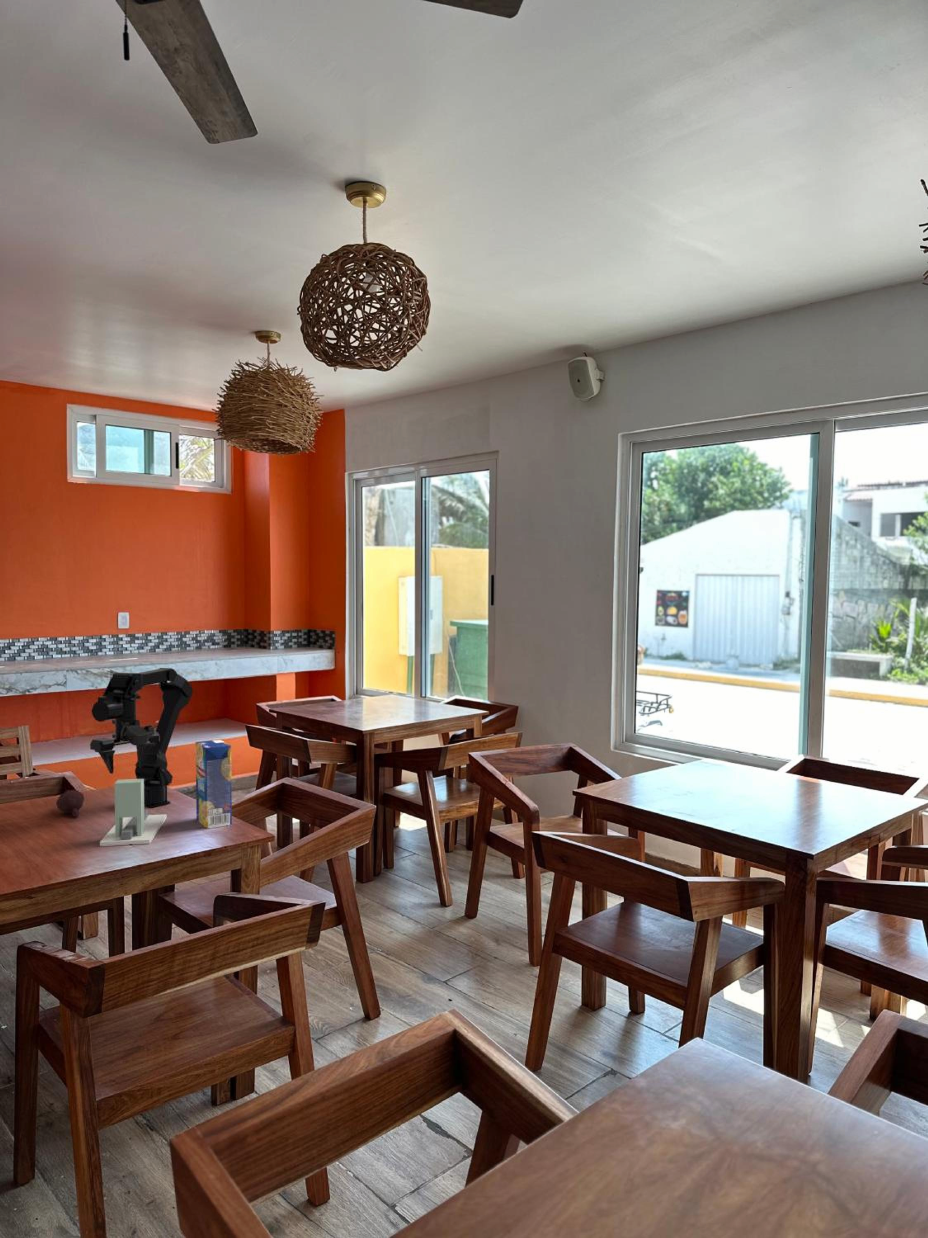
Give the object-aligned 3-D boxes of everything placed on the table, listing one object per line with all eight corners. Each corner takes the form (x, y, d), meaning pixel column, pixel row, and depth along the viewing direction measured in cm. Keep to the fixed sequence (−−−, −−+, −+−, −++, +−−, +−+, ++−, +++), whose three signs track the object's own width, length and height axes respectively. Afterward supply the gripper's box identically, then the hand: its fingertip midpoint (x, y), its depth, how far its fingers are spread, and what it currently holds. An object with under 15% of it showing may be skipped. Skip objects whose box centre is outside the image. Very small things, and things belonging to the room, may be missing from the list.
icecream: (50, 788, 243) (56, 803, 231) (77, 779, 247) (84, 793, 234) (57, 809, 245) (63, 826, 232) (83, 799, 248) (91, 815, 236)
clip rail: (121, 820, 232) (121, 809, 232) (166, 817, 234) (166, 807, 234) (99, 846, 209) (99, 834, 208) (149, 843, 211) (149, 832, 211)
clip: (118, 832, 217) (118, 779, 216) (144, 831, 218) (143, 778, 217) (115, 837, 213) (114, 783, 212) (141, 835, 214) (140, 782, 213)
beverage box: (220, 815, 237) (219, 739, 236) (232, 825, 227) (231, 745, 226) (196, 819, 233) (195, 742, 232) (206, 828, 224) (205, 748, 223)
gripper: (111, 723, 223) (112, 780, 224) (171, 714, 239) (171, 768, 239) (88, 719, 230) (89, 775, 230) (147, 711, 245) (148, 763, 246)
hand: (126, 770), depth 236 cm, fingers open, 9 cm apart
